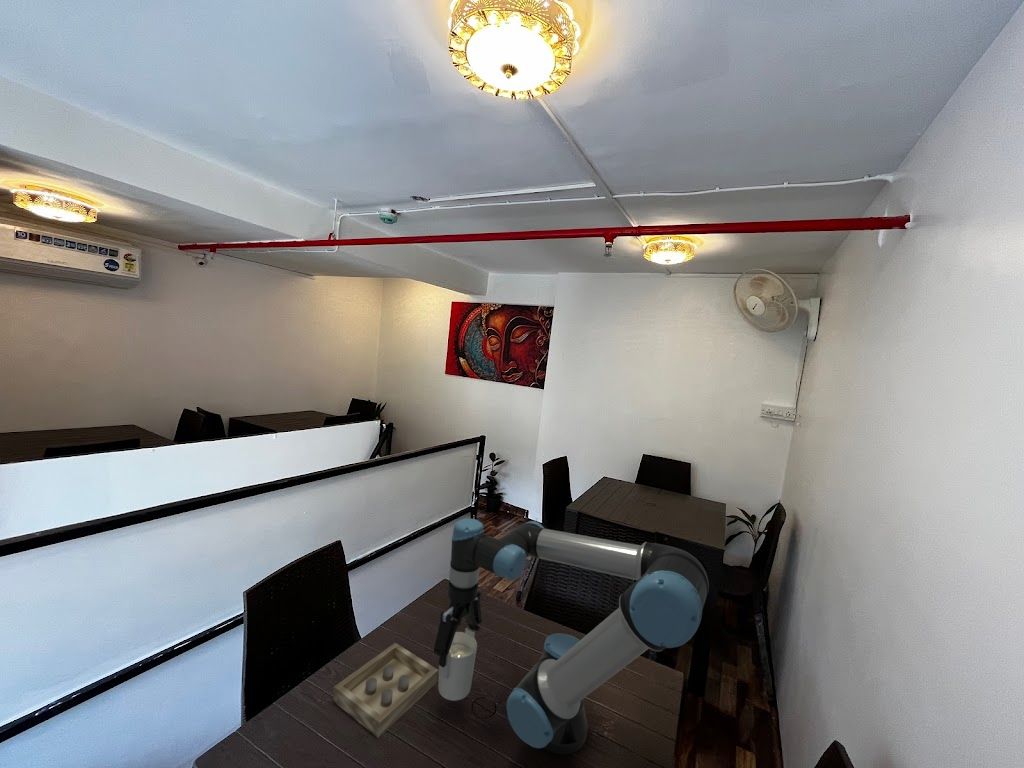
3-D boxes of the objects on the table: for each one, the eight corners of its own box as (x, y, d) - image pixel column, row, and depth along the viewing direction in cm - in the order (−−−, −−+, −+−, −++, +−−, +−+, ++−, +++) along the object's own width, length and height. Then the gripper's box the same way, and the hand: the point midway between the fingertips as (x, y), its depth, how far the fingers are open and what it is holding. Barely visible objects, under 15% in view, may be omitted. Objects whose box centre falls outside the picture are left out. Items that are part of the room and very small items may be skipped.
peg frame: (436, 683, 118) (438, 669, 118) (378, 738, 100) (379, 722, 100) (393, 654, 127) (395, 642, 127) (332, 701, 109) (334, 686, 109)
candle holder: (466, 707, 104) (470, 661, 103) (429, 698, 106) (433, 652, 105) (477, 678, 113) (481, 636, 112) (443, 670, 115) (447, 628, 114)
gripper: (477, 559, 119) (470, 635, 120) (422, 595, 100) (415, 683, 101) (499, 568, 115) (492, 646, 116) (446, 607, 96) (439, 699, 97)
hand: (456, 663), depth 109 cm, fingers closed on candle holder, 9 cm apart
